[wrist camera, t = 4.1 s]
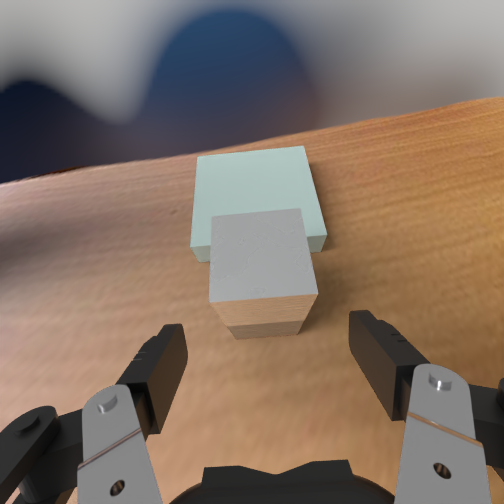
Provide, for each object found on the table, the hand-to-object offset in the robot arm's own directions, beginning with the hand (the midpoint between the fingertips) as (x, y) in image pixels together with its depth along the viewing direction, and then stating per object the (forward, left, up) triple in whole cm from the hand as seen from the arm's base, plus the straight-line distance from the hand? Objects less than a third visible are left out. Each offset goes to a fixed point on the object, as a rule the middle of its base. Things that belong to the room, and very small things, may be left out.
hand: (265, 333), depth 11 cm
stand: (0, +15, -9) cm, 17 cm away
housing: (0, +4, -9) cm, 9 cm away
